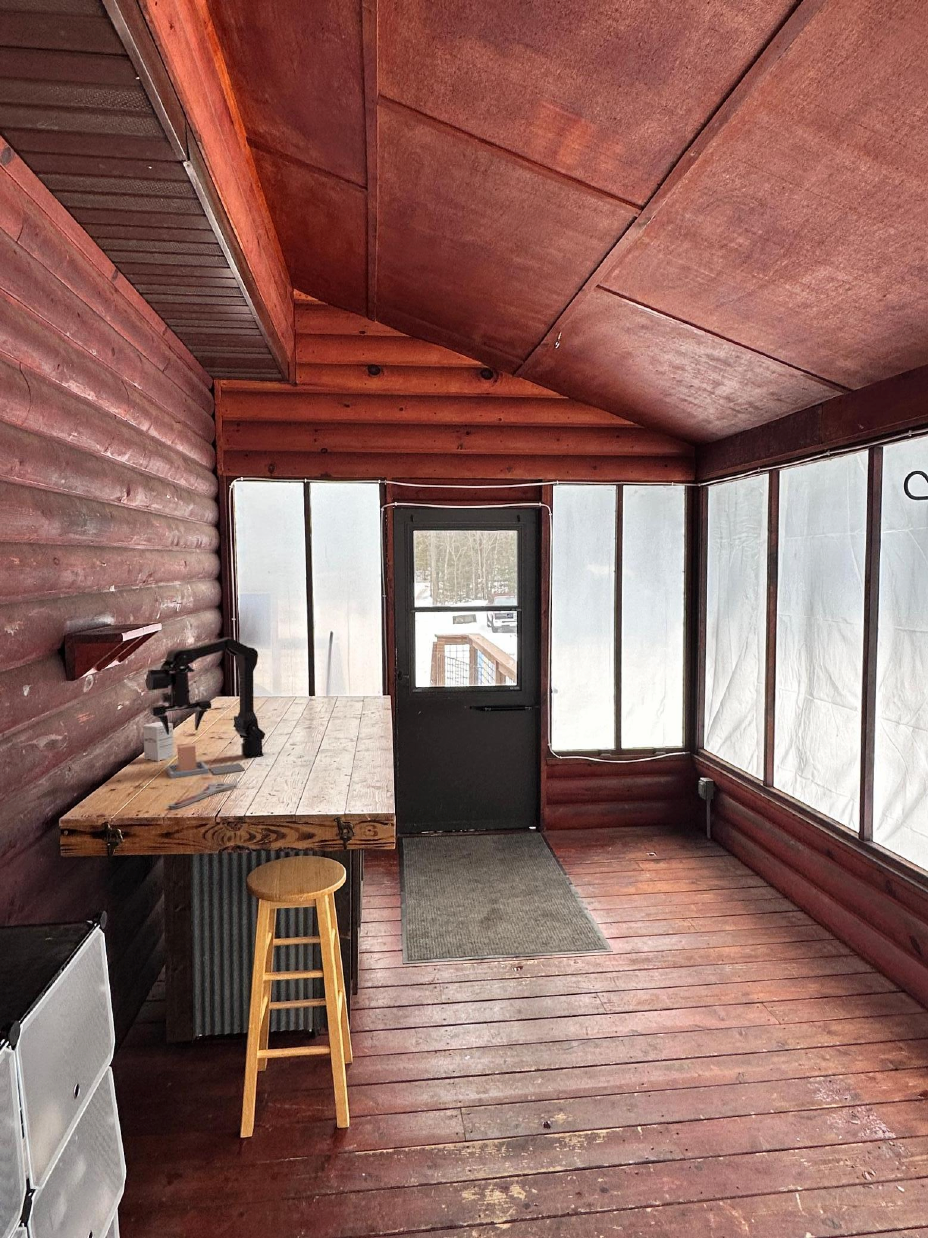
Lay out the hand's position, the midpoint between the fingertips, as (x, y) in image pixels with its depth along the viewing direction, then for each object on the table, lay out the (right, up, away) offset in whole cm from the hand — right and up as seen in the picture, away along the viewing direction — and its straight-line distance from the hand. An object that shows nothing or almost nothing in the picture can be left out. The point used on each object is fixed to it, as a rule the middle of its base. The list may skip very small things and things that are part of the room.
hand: (182, 732), depth 246 cm
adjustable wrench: (+17, -15, -28) cm, 36 cm away
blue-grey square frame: (+2, -13, -1) cm, 13 cm away
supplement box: (-15, -13, +18) cm, 27 cm away
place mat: (+15, -13, +1) cm, 20 cm away
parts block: (+2, -13, -1) cm, 13 cm away
